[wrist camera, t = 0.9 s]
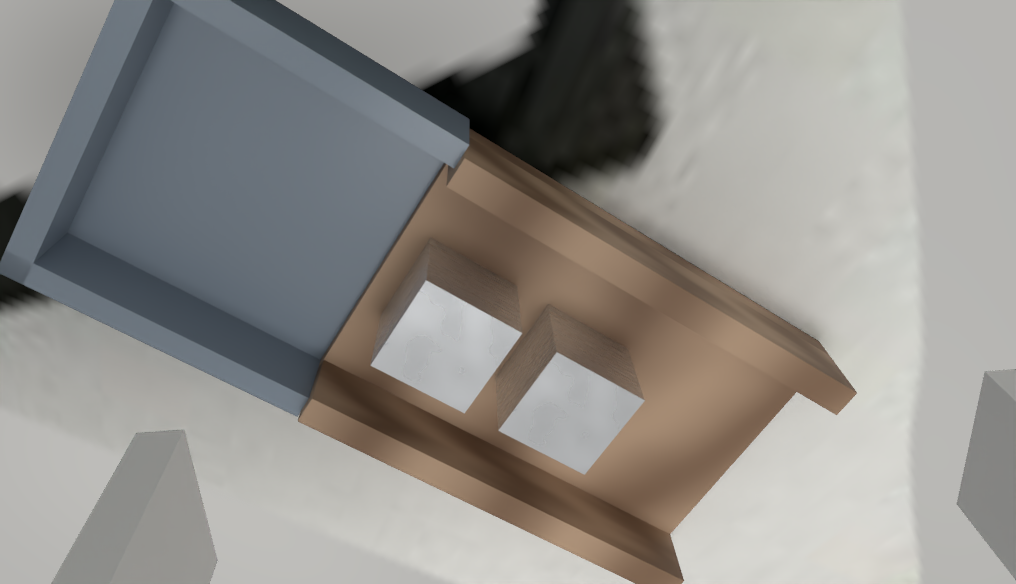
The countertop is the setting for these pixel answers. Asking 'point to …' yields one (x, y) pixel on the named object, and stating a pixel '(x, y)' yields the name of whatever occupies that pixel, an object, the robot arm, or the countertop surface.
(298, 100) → the tray
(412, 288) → the grey cube
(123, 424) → the countertop surface
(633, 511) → the channel
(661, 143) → the countertop surface
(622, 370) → the light grey cube
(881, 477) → the countertop surface
